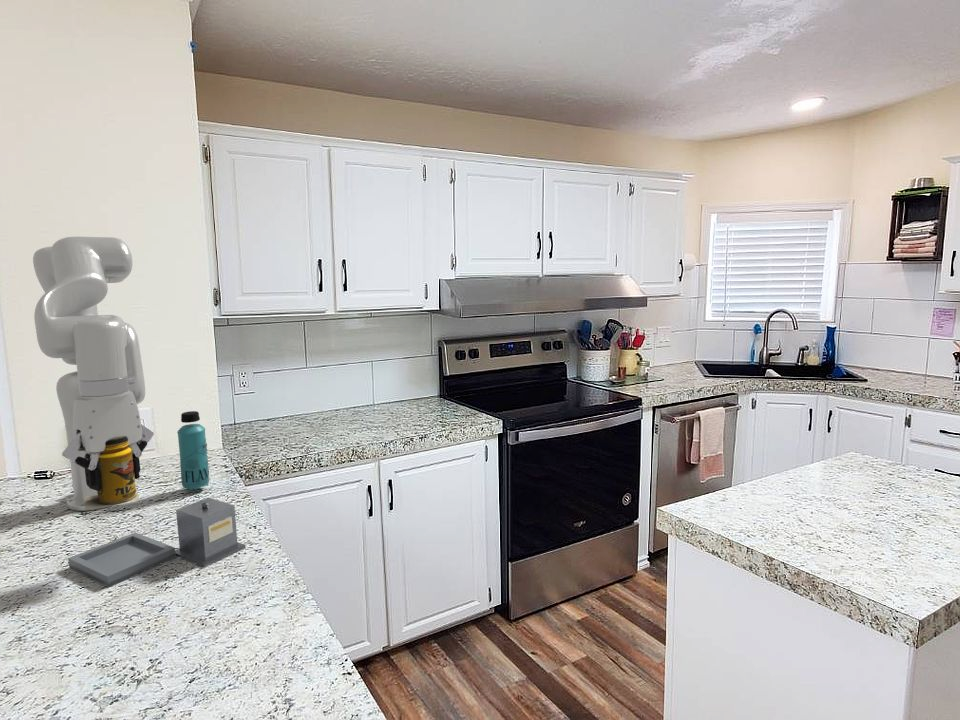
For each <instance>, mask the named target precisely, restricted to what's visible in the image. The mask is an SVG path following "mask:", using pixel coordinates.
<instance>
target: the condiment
mask: <svg viewBox="0 0 960 720" xmlns="http://www.w3.org/2000/svg"><path fill="white" fill-rule="evenodd" d="M105 445H106V446H105V449H104V451H103V452H102V453H100V455H99V459H98V462H97V465H96V468H98V469H100V475H101V484H102V489H101V490H99V491H97V493H98V495H92V496H87V497H85V509H84V511H92V510H91V509H95V510H97V509H96V508H101V509H104V508H103V507H105V508H109V507H114V506H120V505H125V504H130V503H136V502H139V501H140V500H141V499H140V496H139V490H138V489H139V488H137V487H136V479H135V478H134V467H133V457H132V450H131V448H130V447H129V443H128V438H127V436H124V437H120V438H117V439H112V440H108V441H106V443H105ZM108 506H109V507H108ZM84 511H83V512H84Z"/></svg>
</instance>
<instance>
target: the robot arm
mask: <svg viewBox="0 0 960 720" xmlns="http://www.w3.org/2000/svg"><path fill="white" fill-rule="evenodd" d="M32 264H33V268H34V271H35V272H34V273H35V276H36V279H37V280H38V282H39V284H40V287H41V288H42V290H43V292H44V293H43V295H41V297H40V298H39V299H38V301H37V303H36V306H35V308H34V315H33V316H34V327H35V333H36V340H37V343H38V347H39V348H40V351H41V352H42V353H43V354H44V355H45V356H47V357H49V358H52V359H62V361H63V362H64V363H65V364H68V365H72V366H76V371H72V372H69V373H68V372H67V373H66V374H64V375H61V377H59V379H58V380H57V382H56V387H55V388H56V395H57V399H58V403H59V405H60V409H61V413H62V416H63V420H64V426H65V431H66V440H67V446H66V447H65V449H64V450H63V451H62V453H61V455H62V456H63V458H66V459H67V460H69V465H70V473H71V481H72V482H71V488H72V490H73V491H72V492H73V496H71V497H69V498H68V500H66V506H67V509H69V510H73V511H80V512H81V511H83V512H84V509H85V497H87V496H92V495H98V493H97V491H99V490H101V489H102V484H101V475H100V469H98V468H96V465H97V462H98V459H99V455H100V453H102V452H103V451H104V449H105V446H106V445H105V443H106V441H108V440H112V439H117V438H120V437H124V436H127V438H128V443H129V447H130V448H131V450H132V457H133V467H134V478H135V480H138V479H140V472H141V463H140V462H141V461H140V458H141V456H143V455H142V454H143V453H142V452H144V450H145V449H146V447H147V446H148V443H149V442H150V440H152V438H153V436H154V431H152V430H151V429H149V428H147V427H146V426H145V425H143V424H142V421H141V415H140V411H139V406H138V405H139V404H141V403H142V402H143V401H144V400H145V397H146V382H145V376H144V369H143V363H142V361H143V360H142V355H141V348H140V344H139V343H140V342H139V338H138V333H137V332H136V330H135V328H134V327H133V325H131V324H130V323H128V322H125V320H124V319H122V318H121V317H120V316H118V315H113V314H99V311H98V304H100V303H101V302H102V301H104V299H105V298H106V296H107V295H108V290H109V287H108V284H117V283H122V282H123V281H125V279H127V278H128V277H129V276H130V274H132V273H131V272H132V270H133V256H132V252H131V250H130V247H129V246H128V244H127V243H126V242H125V241H123V240H122V239H121V238H117V237H114V236H113V237H110V236H109V237H107V236H105V237H104V236H103V237H102V236H67V237H63V238H60V239H58V240H56V241H55V242H54V243H53V245H52V246H46V247H42V248H39V249H37V250H36V251H35V252H34V253H33V257H32ZM109 507H110V506H108V507H107V508H109ZM104 508H106V507H103V508H96V509H91V510H90V511H95V510H99V509H100V510H101V509H104Z"/></svg>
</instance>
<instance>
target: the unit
mask: <svg viewBox="0 0 960 720" xmlns="http://www.w3.org/2000/svg"><path fill="white" fill-rule="evenodd" d="M235 507H236V506H235V505H234V504H231V503H227V502H225V501H222V500H217V499H214V498H212V497H207V498H203V499H202V500H199V501H196V502H193V503H190V504H188V505H185V506H183V507H180V508H177V509H175V514H176V525H177V535H178V546H179V548H177V549H175V553H176V558H179V559H182V560H184V561H187V562H190V563H193V564H195V565H197V566H200V567H203V568H206V567H208V566H210V565H212V564H214V563H216V562H219V561H220V560H223V559H225V558H227V557H230V556H231V555H233V554H235V553H237V552H240V551H242V550H244V549H245V548H246V544H243V543H241V542H239V541H238V536H237V535H238V532H237V522H236V521H237V519H236V508H235Z"/></svg>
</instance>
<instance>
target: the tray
mask: <svg viewBox="0 0 960 720" xmlns="http://www.w3.org/2000/svg"><path fill="white" fill-rule="evenodd" d="M175 550H176V547H175V546H172V545H169V544H167V543H164V542H162V541H158V540H156V539H154V538H152V537H148V536H145V535H143V534H141V533H138V532H132V533H130V534H128V535H125V536H122V537H119V538H117V539H114V540H112V541H109V542H107V543H104V544H101V545H99V546H96V547H94V548H91V549H89V550H86V551H83V552H80V553H78V554H74V555H73V556H70V557H68V558H67V562H68V567H69V569H70V570H72V571H74V572H76V573H78V574H80V575H83V576H85V577H86V578H88V579H91V580H92V581H94V582H97V583H99V584H100V585H103V586H105V587H107V588H110V587H113V586H115V585H118V584H119V583H122V582H124V581H126V580H128V579H130V578H133V577H135V576H138V575H139V574H142V573H144V572H146V571H149V570H151V569H153V568H155V567H157V566H160V565H162V564H164V563H166V562H169V561H171V560H174V559H176V558H177V556H176V553H175Z"/></svg>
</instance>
